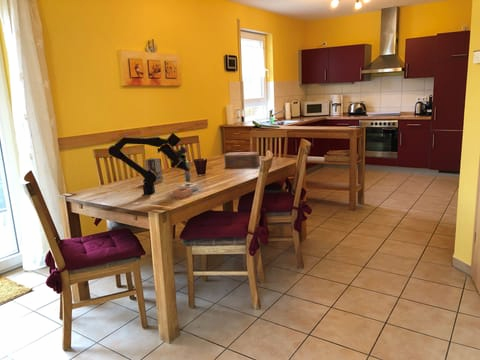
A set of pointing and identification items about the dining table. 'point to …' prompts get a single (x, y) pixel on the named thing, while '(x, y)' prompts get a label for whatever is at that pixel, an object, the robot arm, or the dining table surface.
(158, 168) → the coffee box
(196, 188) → the socket block
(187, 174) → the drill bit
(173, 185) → the dining table surface
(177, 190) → the rack block
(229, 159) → the tissue box cover
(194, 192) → the tool board
